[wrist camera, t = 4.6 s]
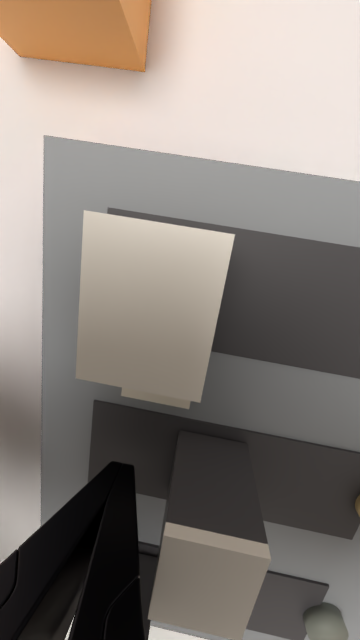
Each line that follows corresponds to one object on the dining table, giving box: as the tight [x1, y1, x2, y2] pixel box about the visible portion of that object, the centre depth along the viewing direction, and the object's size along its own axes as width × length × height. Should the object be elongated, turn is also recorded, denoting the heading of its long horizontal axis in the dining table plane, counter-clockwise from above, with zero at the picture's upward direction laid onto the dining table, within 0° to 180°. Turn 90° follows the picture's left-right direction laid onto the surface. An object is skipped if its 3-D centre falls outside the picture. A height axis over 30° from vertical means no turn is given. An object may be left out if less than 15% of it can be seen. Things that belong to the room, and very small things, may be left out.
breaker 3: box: [139, 553, 157, 640], centre depth 10 cm, size 2×3×4 cm
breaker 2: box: [148, 430, 271, 640], centre depth 8 cm, size 2×3×4 cm
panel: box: [41, 135, 360, 640], centre depth 10 cm, size 20×20×3 cm
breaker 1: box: [76, 210, 235, 403], centre depth 6 cm, size 2×3×4 cm
